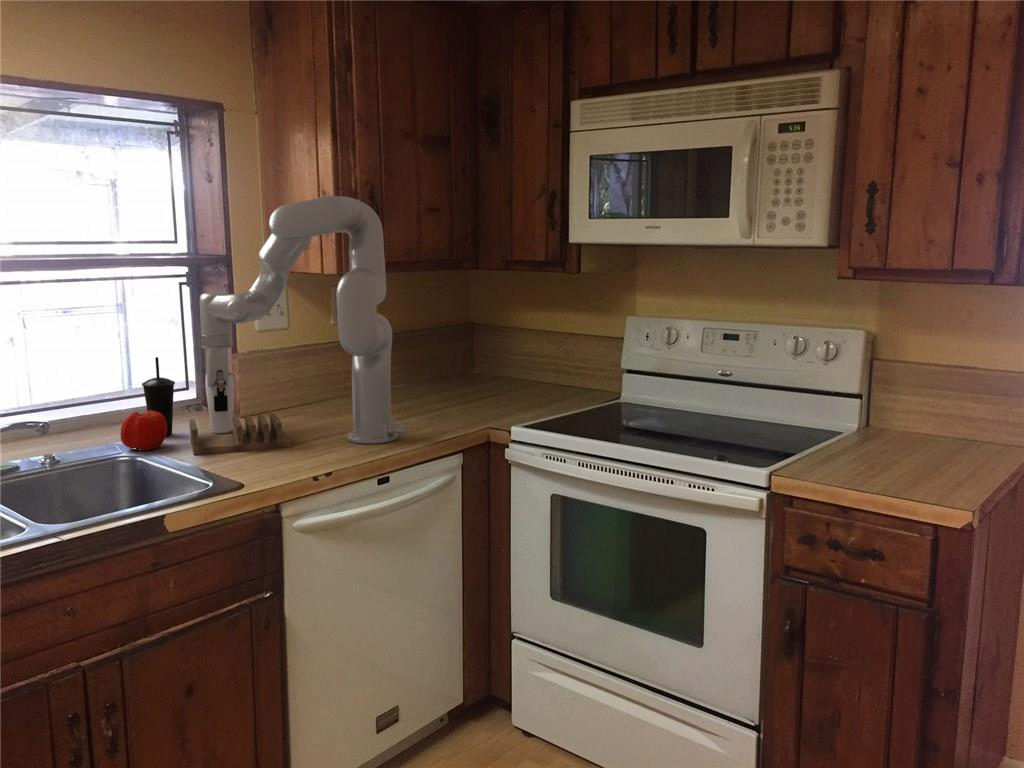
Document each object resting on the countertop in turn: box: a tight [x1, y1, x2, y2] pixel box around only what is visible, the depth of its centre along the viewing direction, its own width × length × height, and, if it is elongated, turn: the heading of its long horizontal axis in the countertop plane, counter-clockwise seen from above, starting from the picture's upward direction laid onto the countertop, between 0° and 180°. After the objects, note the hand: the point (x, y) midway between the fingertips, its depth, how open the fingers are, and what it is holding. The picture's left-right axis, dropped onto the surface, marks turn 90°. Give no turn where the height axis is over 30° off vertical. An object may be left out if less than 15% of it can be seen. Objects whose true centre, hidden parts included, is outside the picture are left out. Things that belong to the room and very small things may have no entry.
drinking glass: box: [204, 372, 235, 435], centre depth 220 cm, size 7×7×15 cm
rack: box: [189, 412, 291, 456], centre depth 207 cm, size 22×12×6 cm, turn 113°
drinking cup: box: [141, 356, 176, 438], centre depth 214 cm, size 8×8×20 cm
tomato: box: [120, 410, 167, 451], centre depth 203 cm, size 11×11×9 cm
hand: (219, 407), depth 220 cm, fingers open, 9 cm apart
